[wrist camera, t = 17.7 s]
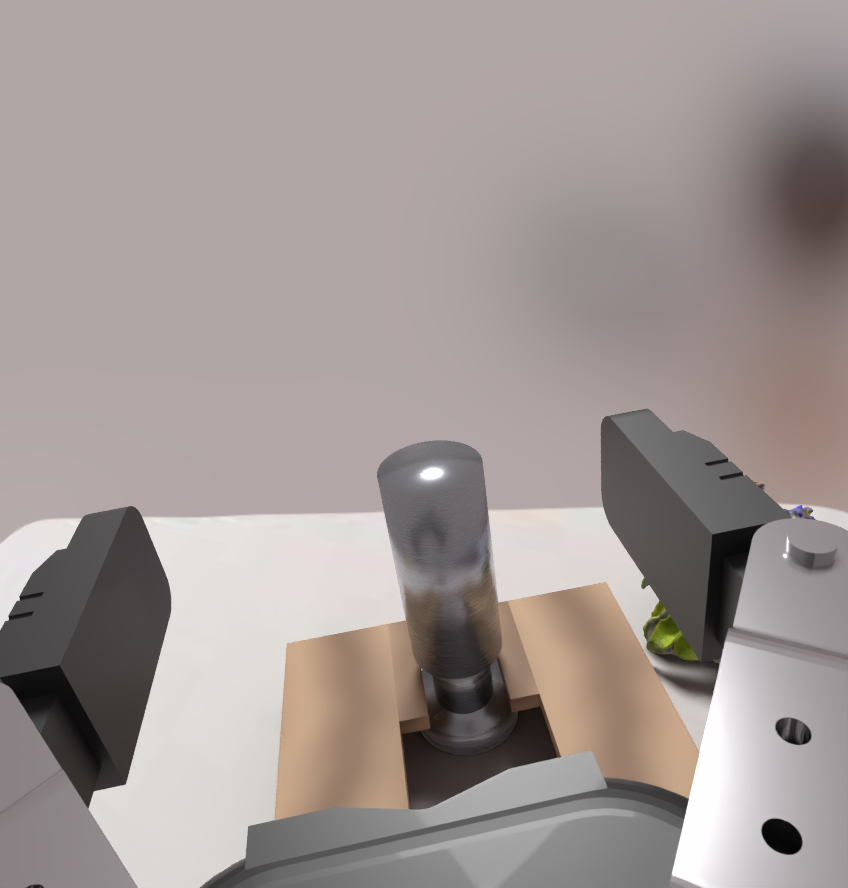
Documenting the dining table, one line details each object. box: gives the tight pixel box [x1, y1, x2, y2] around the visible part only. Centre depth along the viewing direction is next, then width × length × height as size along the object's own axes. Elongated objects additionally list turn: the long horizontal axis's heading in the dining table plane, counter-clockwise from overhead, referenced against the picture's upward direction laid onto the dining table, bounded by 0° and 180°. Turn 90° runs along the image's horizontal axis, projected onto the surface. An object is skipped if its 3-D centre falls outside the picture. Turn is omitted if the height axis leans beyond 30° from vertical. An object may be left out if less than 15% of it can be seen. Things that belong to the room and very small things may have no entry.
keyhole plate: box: [275, 582, 700, 820], centre depth 36 cm, size 20×16×4 cm
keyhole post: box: [377, 441, 518, 756], centre depth 36 cm, size 6×6×17 cm
